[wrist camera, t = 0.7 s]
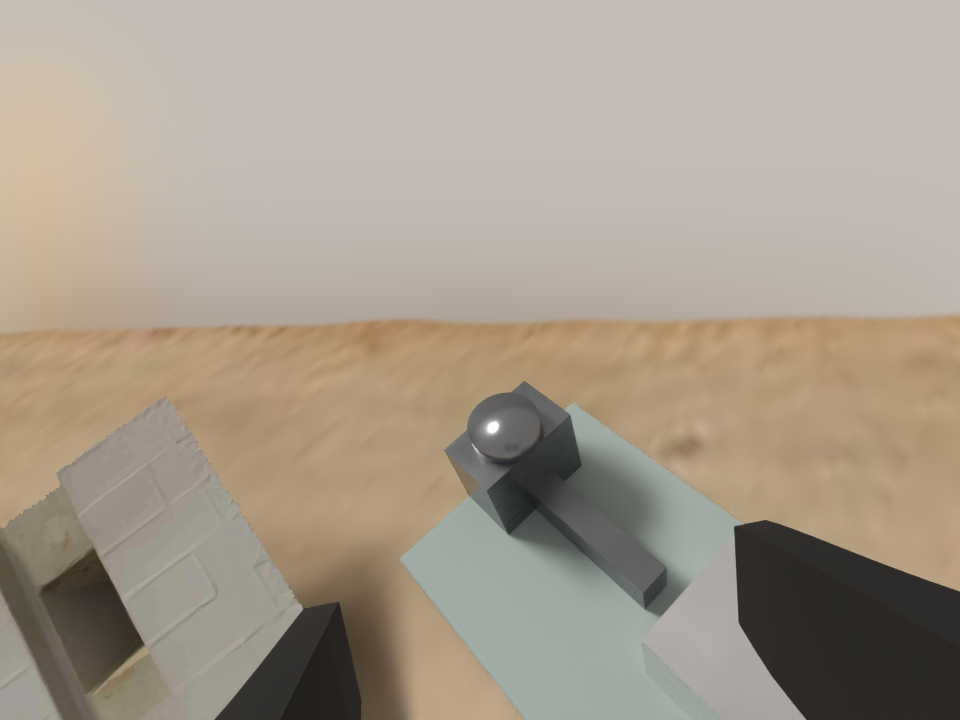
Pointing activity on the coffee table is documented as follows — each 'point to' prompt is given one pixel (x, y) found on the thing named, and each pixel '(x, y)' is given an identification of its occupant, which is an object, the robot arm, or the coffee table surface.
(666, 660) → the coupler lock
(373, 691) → the coffee table surface
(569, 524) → the coupler
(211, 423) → the coffee table surface
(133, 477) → the grey slanted panel
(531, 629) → the mat
